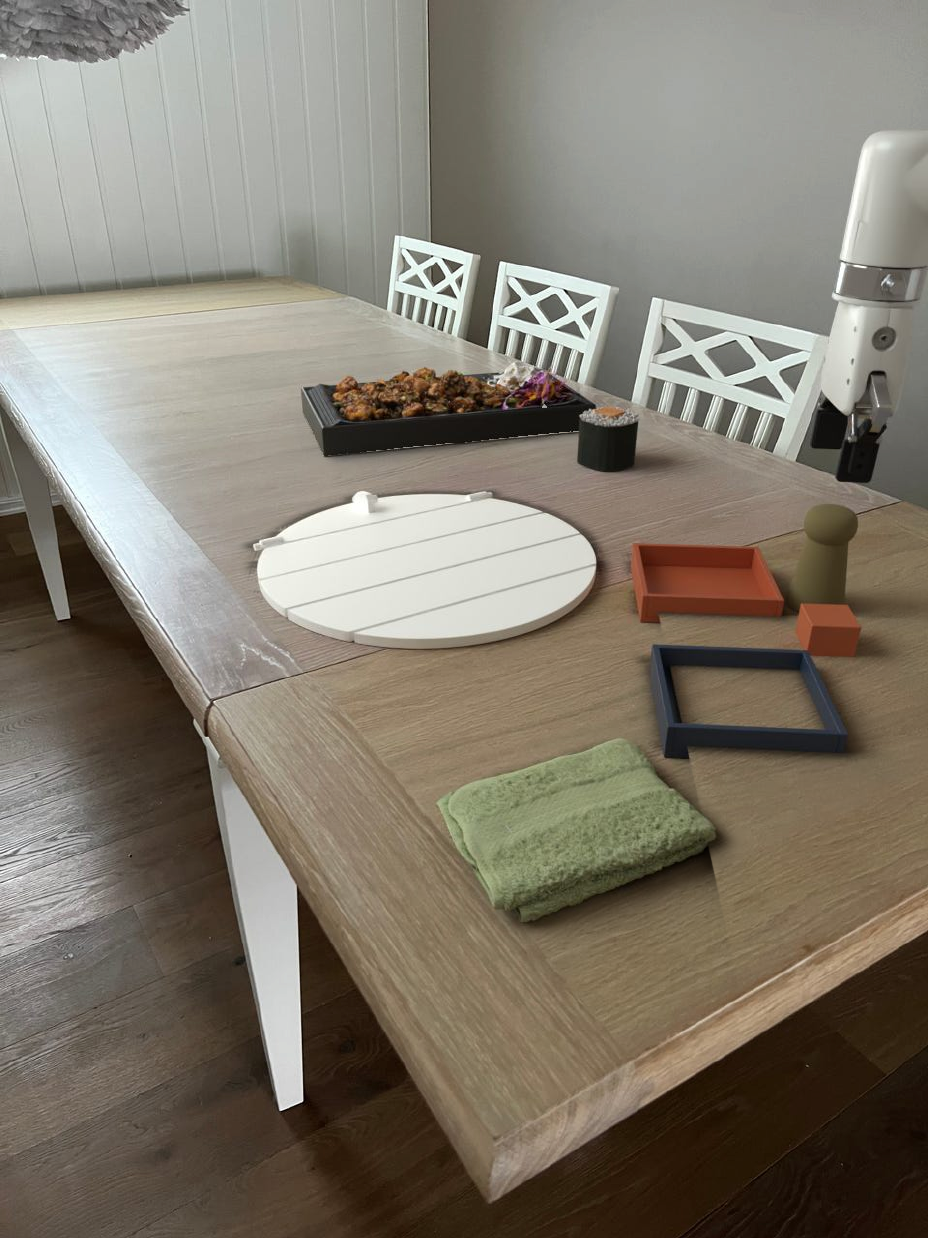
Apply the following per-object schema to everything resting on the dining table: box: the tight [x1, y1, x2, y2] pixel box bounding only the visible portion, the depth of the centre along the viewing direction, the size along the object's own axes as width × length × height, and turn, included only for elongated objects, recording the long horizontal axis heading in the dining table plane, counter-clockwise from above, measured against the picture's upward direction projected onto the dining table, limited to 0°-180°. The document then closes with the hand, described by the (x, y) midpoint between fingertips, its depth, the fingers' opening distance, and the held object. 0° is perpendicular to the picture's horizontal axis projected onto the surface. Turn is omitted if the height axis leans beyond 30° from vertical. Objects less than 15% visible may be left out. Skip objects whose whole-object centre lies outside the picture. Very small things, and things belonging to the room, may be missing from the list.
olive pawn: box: [785, 503, 859, 613], centre depth 97 cm, size 6×6×11 cm
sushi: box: [576, 405, 640, 472], centre depth 137 cm, size 8×8×8 cm
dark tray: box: [648, 643, 849, 759], centre depth 81 cm, size 14×13×3 cm
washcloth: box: [435, 737, 717, 923], centre depth 67 cm, size 13×18×3 cm
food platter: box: [300, 360, 597, 457], centre depth 156 cm, size 45×25×10 cm, turn 106°
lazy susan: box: [252, 490, 597, 650], centre depth 108 cm, size 40×39×3 cm
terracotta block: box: [794, 604, 862, 658], centre depth 89 cm, size 4×4×4 cm
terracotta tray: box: [630, 542, 785, 624], centre depth 101 cm, size 14×13×3 cm
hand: (838, 463), depth 92 cm, fingers open, 9 cm apart
